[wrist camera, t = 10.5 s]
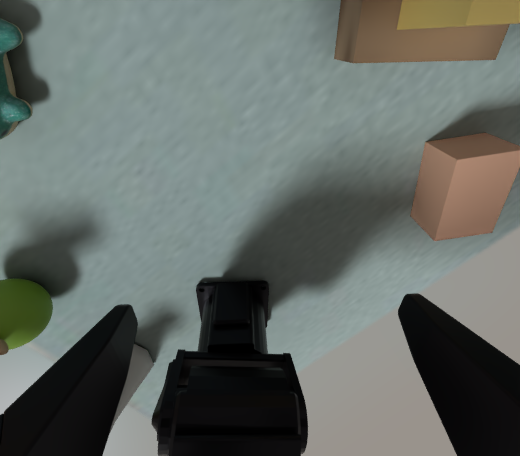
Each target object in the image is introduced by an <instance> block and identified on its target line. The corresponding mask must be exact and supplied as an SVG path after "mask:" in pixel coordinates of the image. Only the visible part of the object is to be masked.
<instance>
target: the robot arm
mask: <svg viewBox="0 0 520 456" xmlns="http://www.w3.org/2000/svg"><path fill="white" fill-rule="evenodd" d="M262 286H264V287H262ZM201 288H203V289H201ZM196 293H197V299H198V305H199V311H200V316H201V322H202V323H201V330H200V338H199V345H198V351H185V350H178V352H177V356H176V359H173V362H171V363H169V366H168V371H167V375H166V380H165V384H164V387H163V390H162V392H161V395H160V398H159V400H158V403H157V405H156V408H155V410H154V413H153V417H152V425H153V427H154V428H155V430H156V431H157V441H158V456H301V454H303V453H304V451H305V448H306V445H307V437H308V421H307V410H306V405H305V400H304V396H303V393H302V390H301V386H300V383H299V380H298V377H297V374H296V370H295V367H294V364H293V361H292V358H291V354H290V353H283V354H268V351H267V339H266V327H267V318H268V295H269V285H268V282H266V281H243V282H213V283H199V284H198V285H197V287H196ZM398 316H399V319H400V322H401V325H402V328H403V331H404V334H405V337H406V340H407V342H408V346H409V349H410V351H411V354H412V357H413V360H414V362H415V364H416V367H417V369H418V371H419V373H420V375H421V378H422V380H423V382H424V384H425V386H426V389H427V391H428V393H429V395H430V397H431V400H432V401H433V404H434V406H435V408H436V410H437V413H438V415H439V417H440V419H441V421H442V424H443V426H444V428H445V430H446V432H447V434H448V437H449V439H450V441H451V443H452V445H453V447H454V450H455V452H456V454H457V456H520V365H519V364H518V363H516V362H515V361H513V360H512V359H511V358H509V357H508V356H506V355H505V354H504V353H502V352H501V351H499V350H498V349H496V348H495V347H494V346H492V345H491V344H489V343H488V342H487V341H485V340H484V339H482V338H481V337H480V336H478V335H477V334H475V333H474V332H472V331H471V330H470V329H468V328H467V327H465V326H464V325H463V324H461V323H460V322H458V321H457V320H456V319H454V318H453V317H451V316H450V315H448V314H447V313H446V312H444V311H443V310H442V309H440V308H439V307H437V306H436V305H434V304H433V303H432V302H430V301H429V300H427V299H426V298H424V297H423V296H422V295H420V294H406V295H405V296H404V298H403V300H402V303H401V305H400V307H399V309H398ZM137 326H138V322H137V318H136V316H135V313H134V310H133V308H132V306H131V305H129V304H124V305H117V306H115V307H114V308H113V309H112V310H111V311H110V312H109V313H108V314H107V315H106V316H104V317H103V318H102V319H101V320H100V321H99V322H98V323H97V324H96V325H95V326H94V327H93V328H92V329H91V330H90V331H89V332H88V333H86V334H85V335H84V336H83V337H82V338H81V339H80V340H79V341H78V342H77V343H76V344H75V345H74V346H73V347H72V348H71V349H70V350H69V351H67V352H66V353H65V354H64V355H63V356H62V357H61V358H60V359H59V360H58V361H57V362H56V363H55V364H54V365H53V366H52V367H51V368H49V369H48V370H47V371H46V372H45V373H44V374H43V375H42V376H41V377H40V378H39V379H38V380H37V381H36V382H35V383H34V384H33V385H32V386H30V387H29V388H28V389H27V390H26V391H25V392H24V393H23V394H22V395H21V396H20V397H19V398H18V399H17V400H16V401H15V402H14V403H12V404H11V405H10V406H9V407H8V408H7V409H6V410H5V412H4V414H1V415H0V456H102V455H103V451H104V449H105V445H106V442H107V439H108V436H109V433H110V430H111V427H112V423H113V420H114V417H115V414H116V411H117V408H118V404H119V401H120V398H121V395H122V392H123V389H124V386H125V382H126V379H127V375H128V371H129V366H130V362H131V357H132V352H133V347H134V342H135V337H136V332H137Z"/></svg>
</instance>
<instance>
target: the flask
mask: <svg viewBox="0 0 520 456" xmlns="http://www.w3.org/2000/svg"><path fill="white" fill-rule="evenodd" d="M153 365H154V364H153V362H152V359H151V357H150V355H149V353H148V351H147V350H146V349H144V348H142V347H140V346H138V345H136V344H134V347H133V352H132V357H131V362H130V366H129V371H128V375H127V379H126V382H125V386H124V389H123V392H122V395H121V398H120V401H119V404H118V408H117V411H116V414H115V417H114V420H113V423H112V427H113V425H114V423H115V421H116V420H117V418H118V416H119V415H120V414H121V412H122V411H123V409H124V408H125V406H126V405H127V403H128V402H129V400H130V399H131V397H132V396H133V394H134V393H135V391H136V390H137V388H138V387H139V386H140V384H141V383H142V381H143V380H144V379H145V377H146V376H147V374H148V373H149V371H150V370H151V368H152V367H153ZM112 427H111V429H112ZM110 431H111V430H110Z"/></svg>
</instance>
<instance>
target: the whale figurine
mask: <svg viewBox="0 0 520 456" xmlns="http://www.w3.org/2000/svg"><path fill="white" fill-rule="evenodd" d="M22 41H23V34H22V32H21V30H20V29H19V28H18V27H17V26H16V25H14V24H12V23H10V22H8V21H5V20H3V19H1V18H0V139H2V138H4V137H6V136H8V135H9V134H10V133H12V132H13V131H14V129H15V128H16V127H17V125H18V121H21V120H25V119H28V118H30V117H31V116H32V107H31V106H30V104H29V103H28V102H26V101H25V100H22V99H20V98H18V97H16V92H15V86H14V80H13V76H12V72H11V68H10V64H9V61H8V58H7V54H6V52H8V51H9V50H12V49H14V48H16V47H17V46H19V45H20V44H21V43H22Z"/></svg>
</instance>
